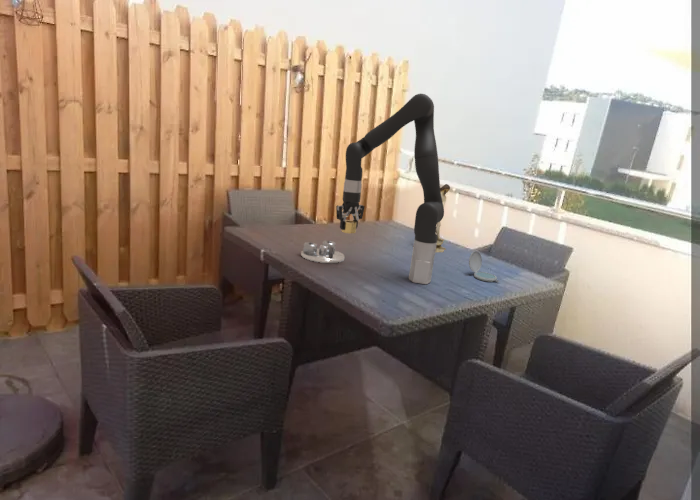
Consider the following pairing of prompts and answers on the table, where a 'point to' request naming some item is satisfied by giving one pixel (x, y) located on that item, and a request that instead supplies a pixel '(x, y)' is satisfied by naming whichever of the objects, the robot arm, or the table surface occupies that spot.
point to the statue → (439, 240)
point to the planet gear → (350, 226)
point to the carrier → (322, 252)
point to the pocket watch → (475, 266)
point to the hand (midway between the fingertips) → (348, 228)
